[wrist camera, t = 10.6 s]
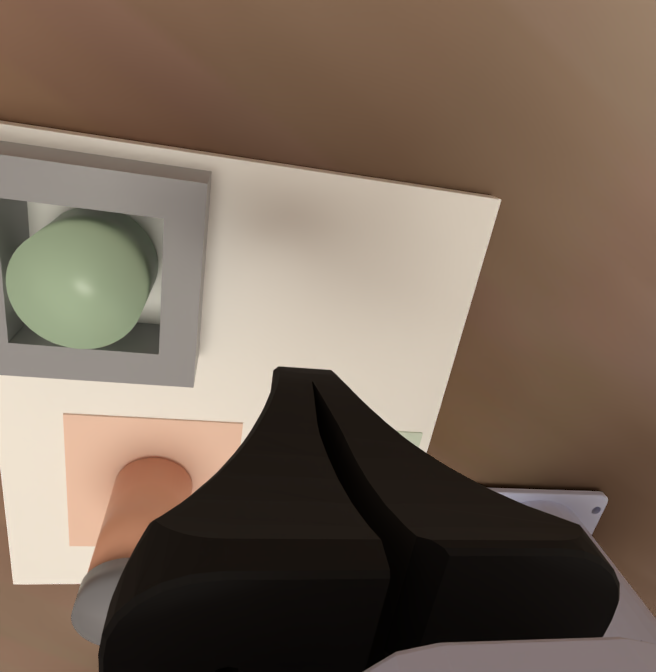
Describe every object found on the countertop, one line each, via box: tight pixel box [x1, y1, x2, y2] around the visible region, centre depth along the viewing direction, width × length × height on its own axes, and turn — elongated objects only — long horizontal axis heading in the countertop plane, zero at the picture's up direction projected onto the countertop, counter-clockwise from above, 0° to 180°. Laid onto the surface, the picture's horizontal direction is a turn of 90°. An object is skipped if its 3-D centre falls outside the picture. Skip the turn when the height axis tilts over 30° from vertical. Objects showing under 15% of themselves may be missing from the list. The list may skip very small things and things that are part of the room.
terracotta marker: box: [71, 458, 192, 645], centre depth 20 cm, size 3×3×6 cm
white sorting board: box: [0, 120, 501, 584], centre depth 21 cm, size 20×18×3 cm
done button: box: [6, 208, 158, 349], centre depth 17 cm, size 4×4×3 cm
